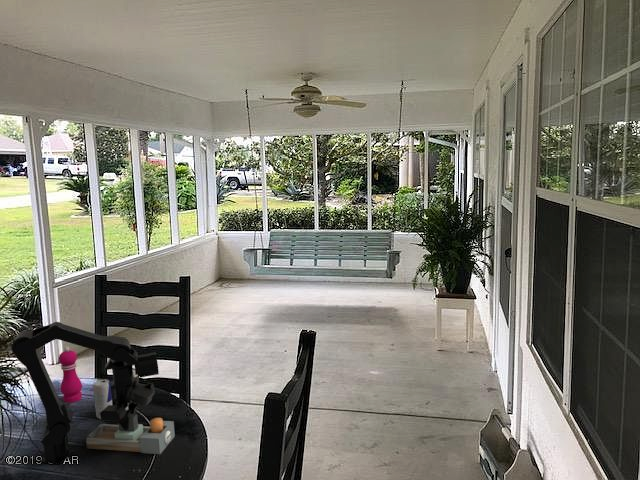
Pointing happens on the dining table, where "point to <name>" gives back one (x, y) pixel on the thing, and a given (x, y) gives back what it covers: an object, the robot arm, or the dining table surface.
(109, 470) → the dining table surface
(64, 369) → the pepper mill
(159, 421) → the button
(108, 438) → the rail board
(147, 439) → the cabinet
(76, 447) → the dining table surface
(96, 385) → the energy drink
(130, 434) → the carriage
